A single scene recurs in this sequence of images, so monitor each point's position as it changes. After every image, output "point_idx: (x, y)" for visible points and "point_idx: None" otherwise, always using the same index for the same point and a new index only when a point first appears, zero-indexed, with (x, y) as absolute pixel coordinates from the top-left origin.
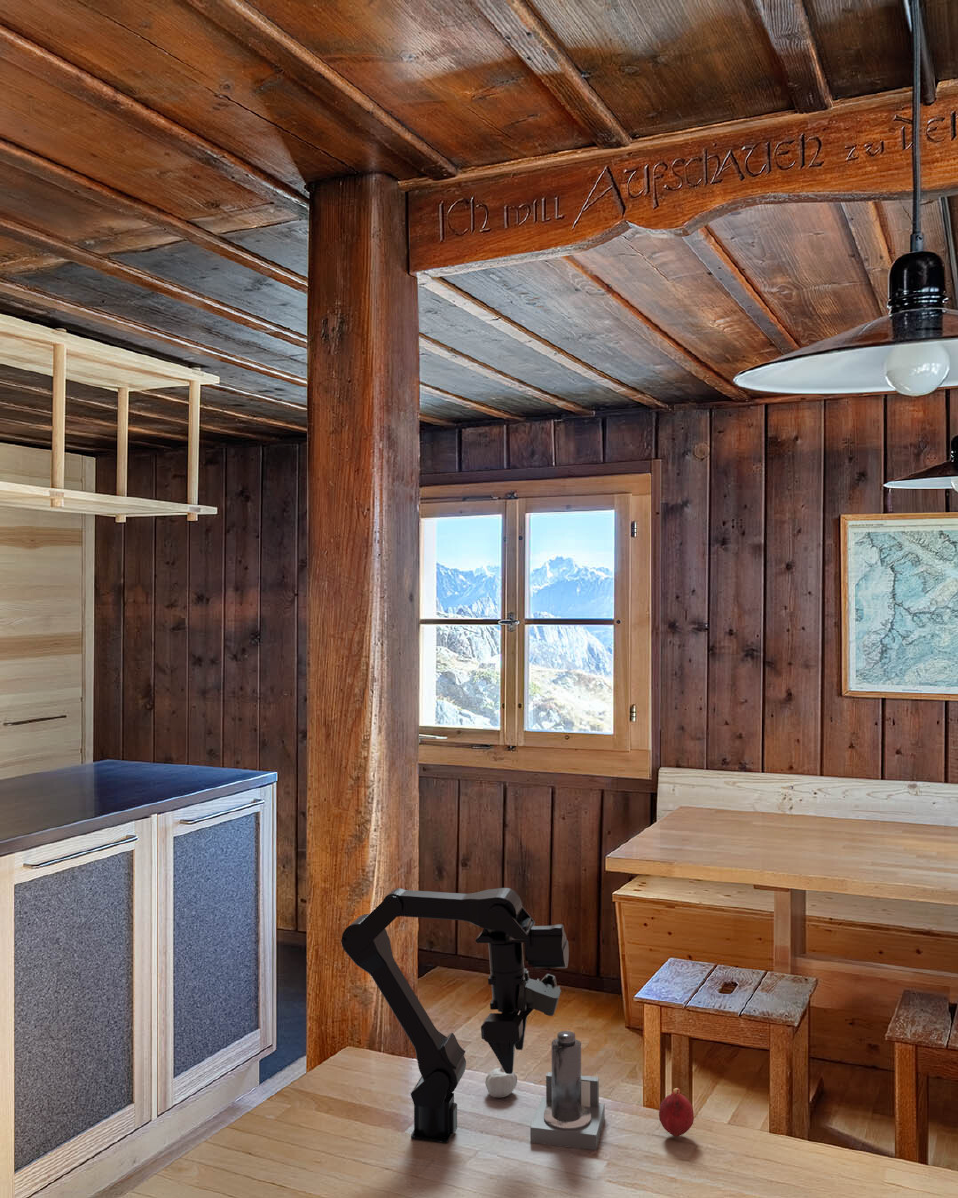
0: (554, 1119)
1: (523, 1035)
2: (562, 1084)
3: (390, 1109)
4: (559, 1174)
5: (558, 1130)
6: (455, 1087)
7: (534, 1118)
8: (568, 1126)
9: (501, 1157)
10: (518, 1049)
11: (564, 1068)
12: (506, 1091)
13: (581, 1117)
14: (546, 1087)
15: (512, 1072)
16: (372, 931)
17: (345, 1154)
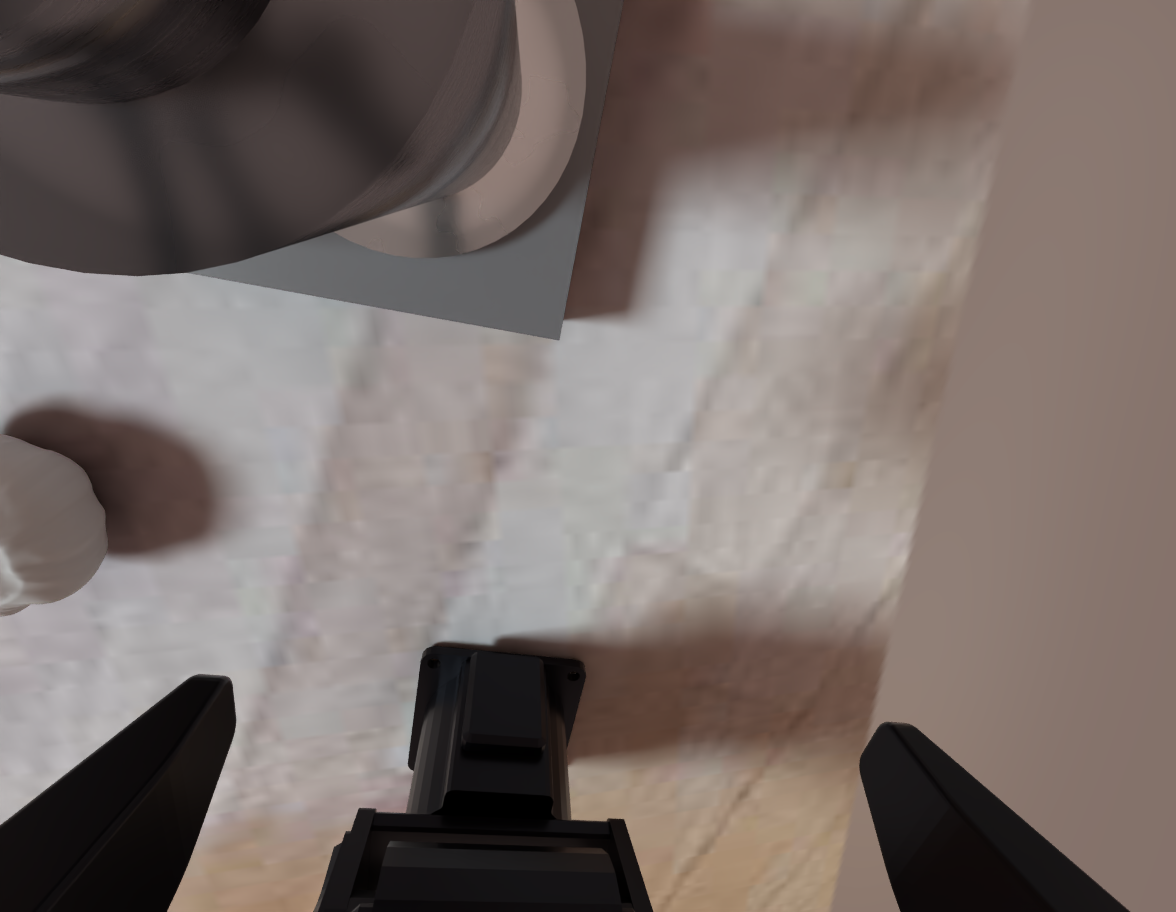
0: (492, 181)
1: (95, 863)
2: (510, 85)
3: None
4: (869, 164)
5: (593, 155)
6: (612, 871)
7: (446, 316)
8: (584, 74)
9: (691, 452)
10: (233, 714)
11: (509, 13)
12: (77, 480)
13: None
14: None
15: (908, 727)
16: None
17: (654, 896)
